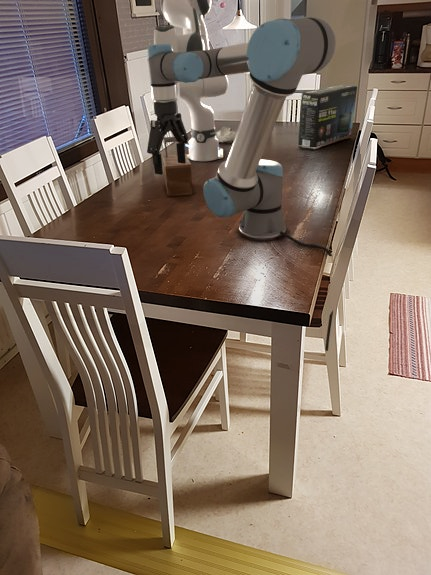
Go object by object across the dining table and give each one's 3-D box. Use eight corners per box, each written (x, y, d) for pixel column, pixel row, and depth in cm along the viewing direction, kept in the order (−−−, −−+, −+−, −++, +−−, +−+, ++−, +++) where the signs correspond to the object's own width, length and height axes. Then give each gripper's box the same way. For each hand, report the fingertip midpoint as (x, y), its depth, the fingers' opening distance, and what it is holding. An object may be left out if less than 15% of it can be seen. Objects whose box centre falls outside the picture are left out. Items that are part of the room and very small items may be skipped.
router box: (314, 151, 231) (318, 94, 217) (296, 148, 237) (299, 92, 224) (352, 138, 251) (358, 85, 238) (335, 135, 258) (340, 83, 245)
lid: (162, 158, 190) (160, 135, 185) (186, 156, 191) (184, 134, 186) (165, 168, 176) (163, 145, 172) (190, 166, 177) (189, 143, 173)
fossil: (231, 138, 245) (212, 120, 248) (221, 154, 251) (202, 137, 255) (247, 136, 258) (229, 120, 262) (237, 152, 265) (220, 136, 268)
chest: (165, 184, 195) (163, 158, 189) (188, 182, 196) (186, 156, 190) (168, 196, 182) (165, 169, 176) (192, 194, 183) (190, 166, 178)
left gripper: (158, 72, 180) (161, 109, 187) (161, 78, 163) (165, 119, 170) (174, 71, 181) (177, 108, 188) (179, 77, 163) (181, 118, 171)
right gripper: (176, 93, 153) (181, 157, 164) (129, 106, 134) (138, 177, 145) (195, 94, 150) (199, 159, 160) (150, 107, 131) (158, 180, 142)
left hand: (171, 113), depth 179 cm, fingers open, 8 cm apart
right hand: (170, 168), depth 153 cm, fingers open, 13 cm apart
